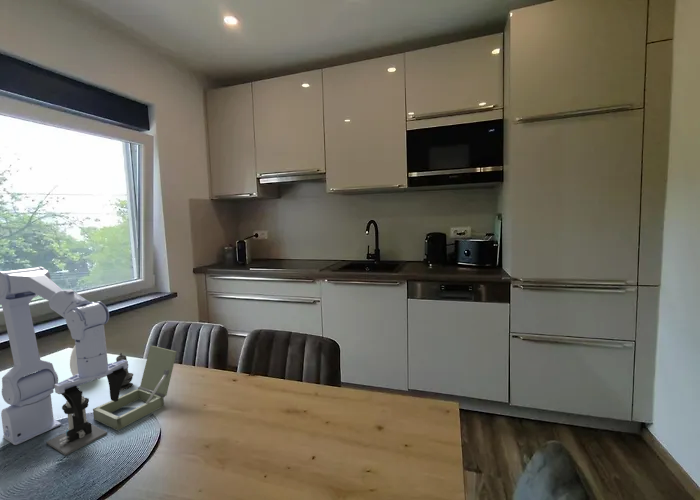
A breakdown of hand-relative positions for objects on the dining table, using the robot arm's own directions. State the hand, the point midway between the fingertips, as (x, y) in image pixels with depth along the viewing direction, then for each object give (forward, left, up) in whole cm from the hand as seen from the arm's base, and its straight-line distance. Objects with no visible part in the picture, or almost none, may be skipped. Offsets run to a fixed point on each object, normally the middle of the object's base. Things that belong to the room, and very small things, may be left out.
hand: (97, 408), depth 81 cm
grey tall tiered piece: (+20, +28, -11) cm, 36 cm away
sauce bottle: (+17, +46, -11) cm, 50 cm away
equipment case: (+15, +10, -10) cm, 21 cm away
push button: (-1, +10, -10) cm, 14 cm away
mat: (-1, +10, -10) cm, 15 cm away
